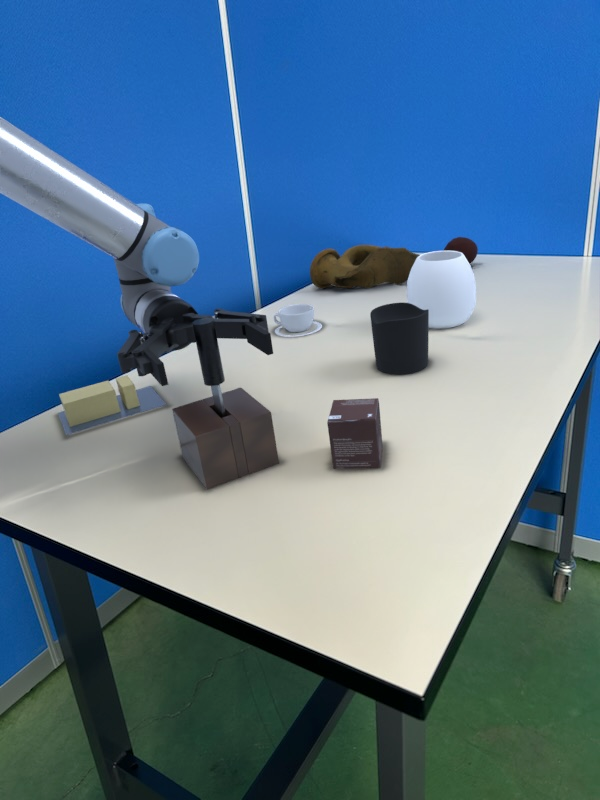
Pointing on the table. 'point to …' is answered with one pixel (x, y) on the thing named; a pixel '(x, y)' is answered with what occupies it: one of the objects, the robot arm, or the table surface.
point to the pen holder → (400, 338)
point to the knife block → (226, 438)
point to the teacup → (296, 319)
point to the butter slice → (127, 392)
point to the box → (355, 434)
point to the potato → (463, 247)
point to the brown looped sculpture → (361, 266)
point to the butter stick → (89, 403)
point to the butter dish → (146, 400)
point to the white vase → (443, 288)
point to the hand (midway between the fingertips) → (217, 359)
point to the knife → (210, 360)
